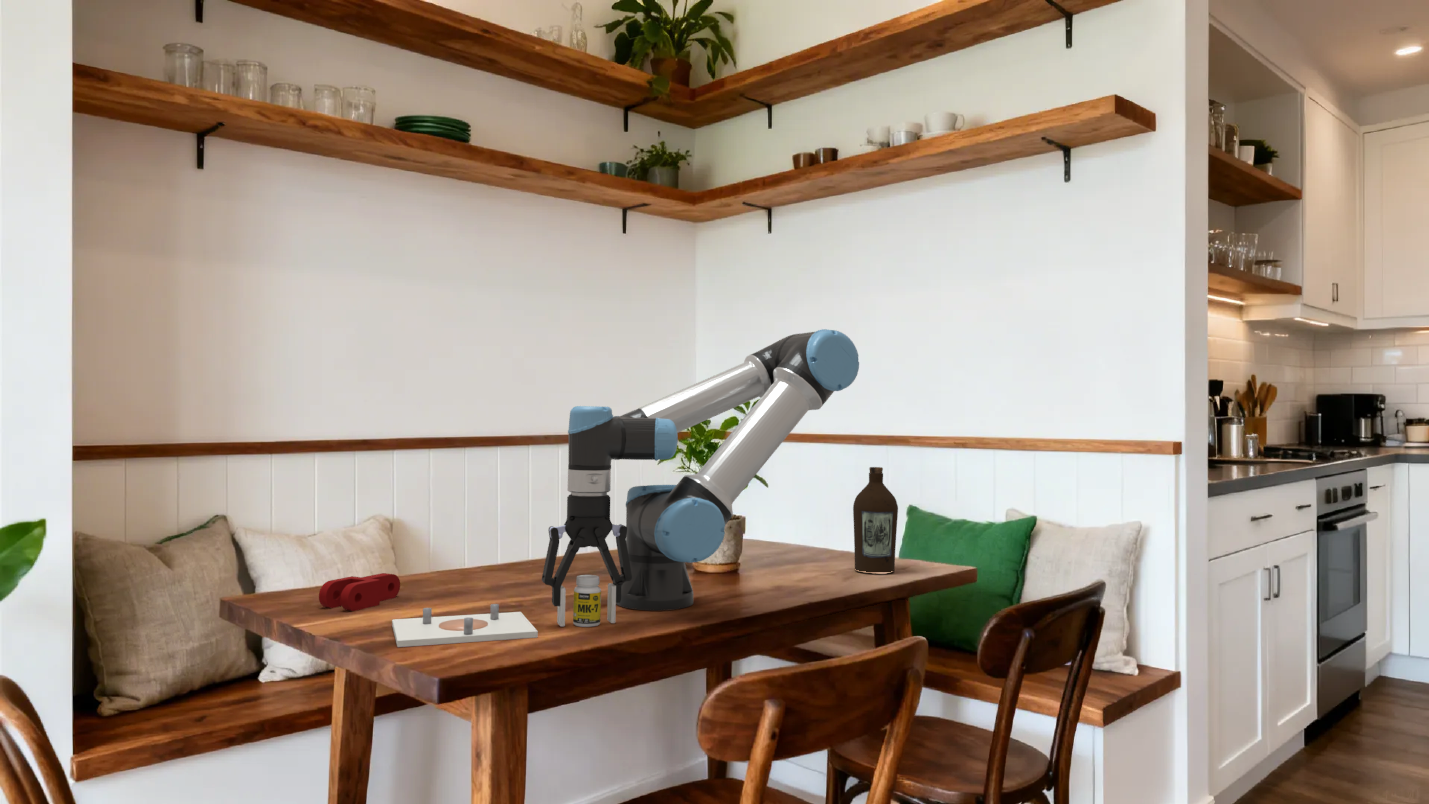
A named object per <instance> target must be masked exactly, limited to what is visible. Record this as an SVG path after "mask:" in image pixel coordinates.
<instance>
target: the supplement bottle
mask: <svg viewBox="0 0 1429 804" xmlns="http://www.w3.org/2000/svg"><path fill="white" fill-rule="evenodd" d="M575 580H576V582H575V583H576V584H575V585H576V586H575V587H574V589H573V605H572V608H573V609H572V611H573V614H572V616H573V618H572V623H573V625H574V626H576V627H581V628H592V627H598V626H599V625H600V624H601V609H602V589H601V587H600V586H599V585H600V576H599V575H597V574H581V575H577V576H576V579H575Z"/></svg>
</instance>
